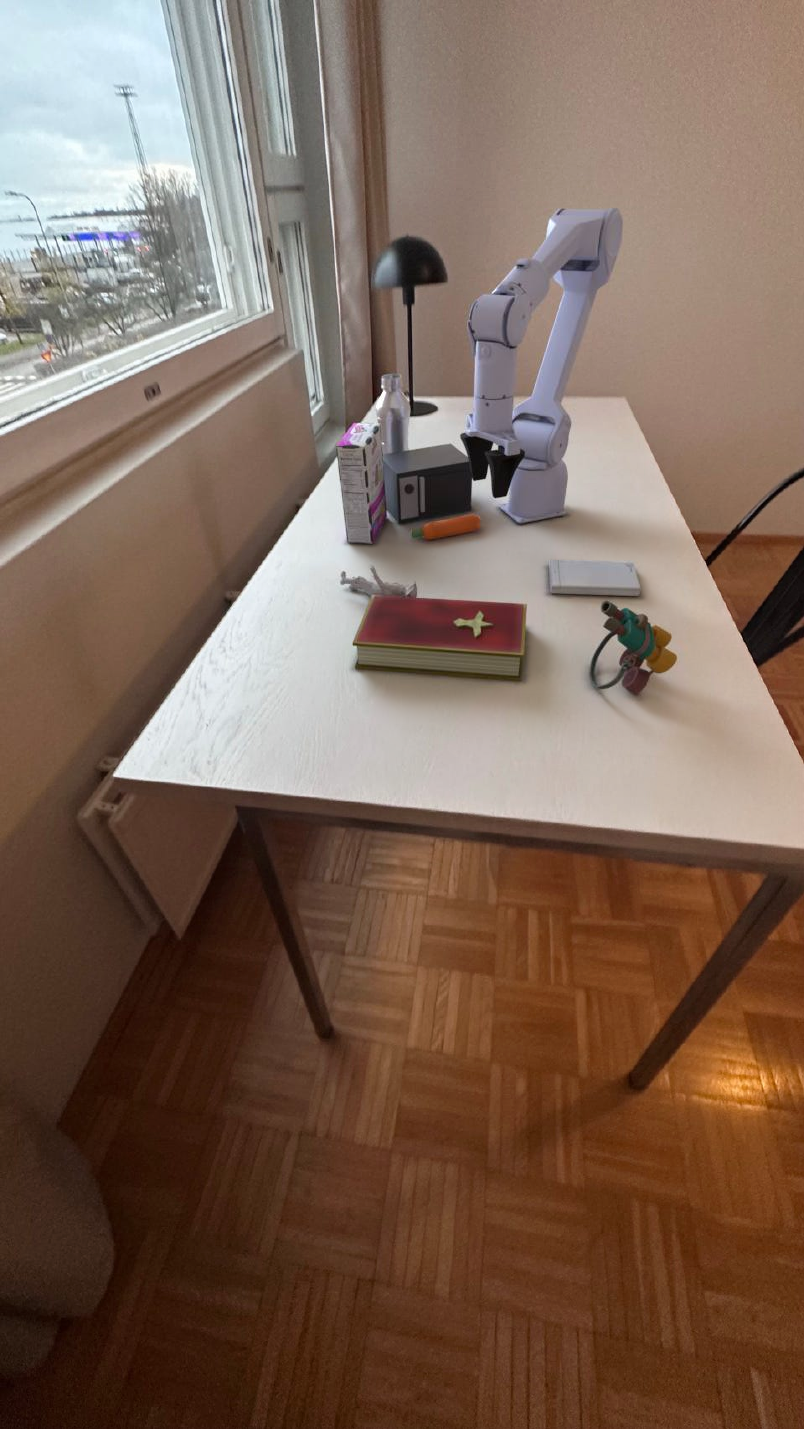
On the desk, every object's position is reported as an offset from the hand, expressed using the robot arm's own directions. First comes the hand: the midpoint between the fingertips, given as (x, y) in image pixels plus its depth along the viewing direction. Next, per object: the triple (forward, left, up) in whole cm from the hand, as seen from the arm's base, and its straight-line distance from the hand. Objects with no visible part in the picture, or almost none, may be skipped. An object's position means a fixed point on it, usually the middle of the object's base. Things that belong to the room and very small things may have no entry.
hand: (489, 487), depth 99 cm
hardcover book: (+18, +25, -10) cm, 32 cm away
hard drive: (-9, +18, -10) cm, 22 cm away
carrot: (+4, -5, -9) cm, 11 cm away
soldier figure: (+22, +10, -10) cm, 26 cm away
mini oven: (+4, -18, -9) cm, 21 cm away
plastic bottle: (+6, -29, -10) cm, 31 cm away
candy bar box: (+17, -13, -10) cm, 23 cm away
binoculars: (0, +40, -10) cm, 41 cm away
